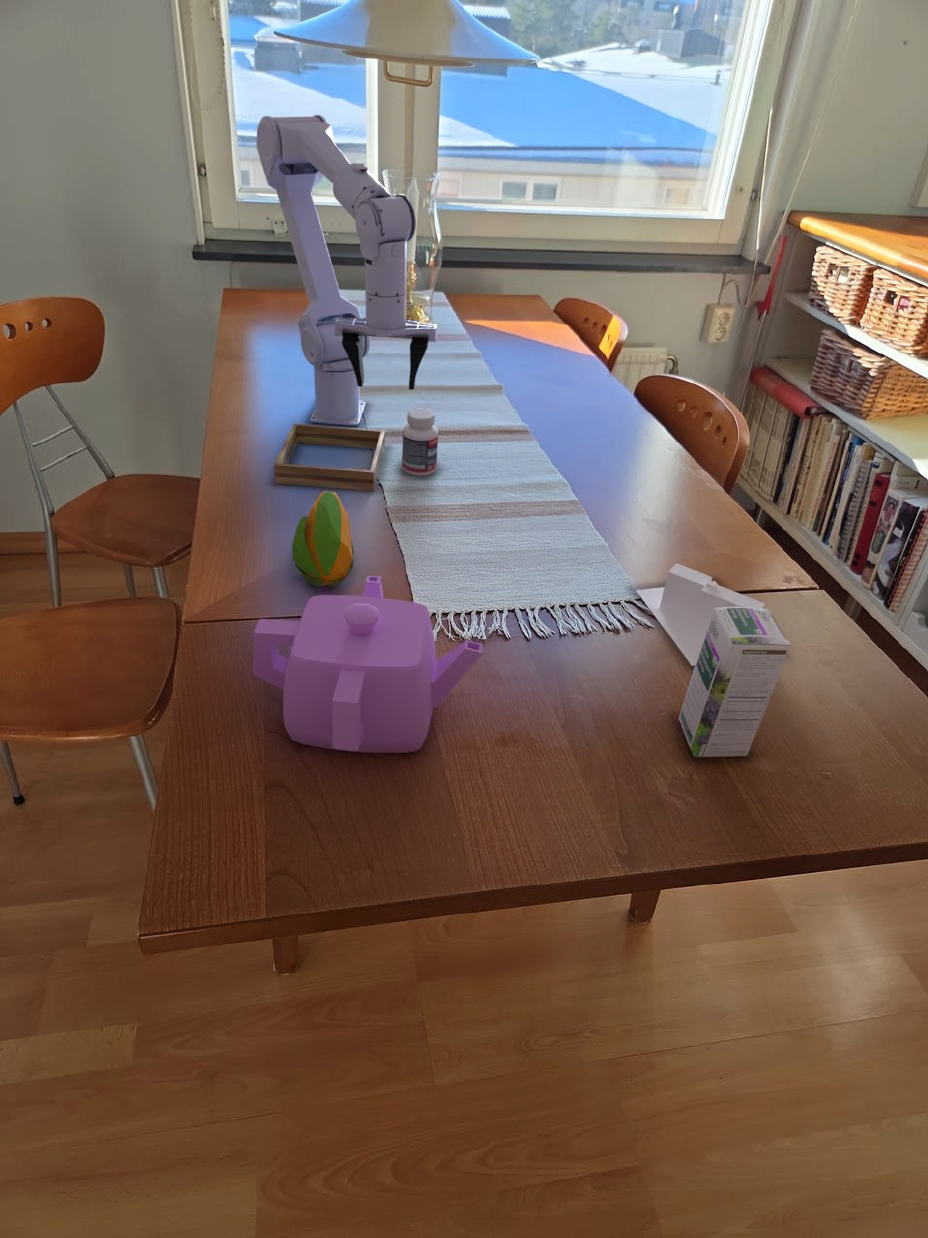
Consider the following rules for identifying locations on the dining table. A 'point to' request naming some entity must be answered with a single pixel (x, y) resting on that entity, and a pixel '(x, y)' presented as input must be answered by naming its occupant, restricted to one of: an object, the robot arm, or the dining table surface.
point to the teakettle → (359, 671)
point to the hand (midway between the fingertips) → (386, 385)
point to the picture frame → (327, 474)
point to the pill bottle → (420, 442)
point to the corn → (324, 542)
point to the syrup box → (732, 681)
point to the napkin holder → (690, 606)
